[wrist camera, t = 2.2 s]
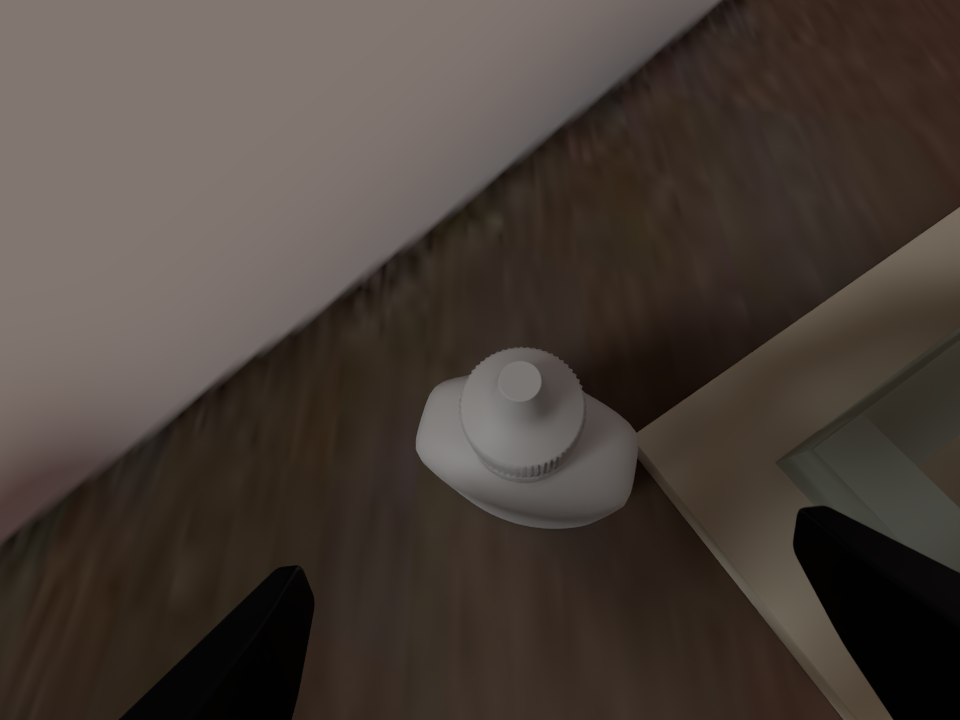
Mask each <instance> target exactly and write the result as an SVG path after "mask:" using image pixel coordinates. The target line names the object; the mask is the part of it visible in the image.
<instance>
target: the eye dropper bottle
mask: <svg viewBox="0 0 960 720" xmlns="http://www.w3.org/2000/svg"><path fill="white" fill-rule="evenodd" d="M572 371H573V369H570V368H568V365H567V364H564V361H563V360H559V358H558V357H554V356H553V354H548V352H547V351H542V350H541V349H538V350H536V349H535V348H531V349H530V348H529V347H526V348H523V347H522V346H521V347H520V348H517V347H514V348H513V349H511V348H508V349H507V350H502V351H501V352H496V353H495V354H491V355H490V357H488V358H485V361H481V362H480V365H477V366H476V369H474V370H472V374H470V375H467V376H463V377H458V378H454V379H450V380H447V381H444V382H443V383H441V384H439V385H437V386H436V387H435V388H434V390H433V391H432V392H431V394H430V395H429V398H428V400H427V403H426V406H425V409H424V412H423V415H422V418H421V421H420V425H419V429H418V433H417V437H416V450H417V453H418V454H419V456H420V458H421V460H422V462H423V463H424V464H425V465H426V466H427V467H428V468H429V469H430V470H431V471H433V472H434V473H435V474H436V475H437V476H438V477H439V478H441V479H442V480H443V481H444V482H446V483H447V484H448V485H450V486H451V487H452V488H453V489H455V490H456V491H457V492H459V493H460V494H461V495H463V496H464V497H465V498H467V499H468V500H469V501H471V502H472V503H474V504H475V505H477V506H478V507H480V508H481V509H483V510H485V511H487V512H489V513H491V514H493V515H495V516H497V517H499V518H502V519H505V520H507V521H510V522H513V523H517V524H521V525H525V526H530V527H537V528H548V529H563V528H574V527H580V526H584V525H588V524H591V523H593V522H595V521H598V520H600V519H602V518H604V517H606V516H609V515H610V514H612V513H614V512H615V511H617V510H618V509H620V508H622V507H623V506H624V505H625V503H626V501H627V499H628V498H629V496H630V494H631V490H632V486H633V481H634V476H635V470H636V463H637V456H638V439H637V433H636V432H635V430H634V429H633V428H632V426H631V425H630V424H629V423H628V422H627V421H626V420H625V419H624V418H623V417H621V416H620V415H619V414H618V413H616V412H615V411H613V410H612V409H611V408H609V407H608V406H606V405H605V404H603V403H601V402H600V401H598V400H597V399H595V398H593V397H591V396H589V395H588V394H586V393H585V392H584V391H583V390H582V387H583V386H582V385H580V384H579V382H580V380H579V379H577V378H576V376H577V375H576V374H574V373H572Z"/></svg>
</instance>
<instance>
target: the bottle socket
mask: <svg viewBox="0 0 960 720" xmlns="http://www.w3.org/2000/svg"><path fill="white" fill-rule="evenodd" d="M637 439H638V456H637V458H638V460H639V461H640V462H641V463H642V465H643V466H644V467H645V469H646V470H647V471H648V472H649V474H650V475H651V476H652V477H653V479H654V480H655V481H656V482H657V484H658V485H659V486H660V488H661V489H662V490H663V491H664V493H665V494H666V495H667V496H668V498H669V499H670V500H671V501H672V503H673V504H674V505H675V507H676V508H677V509H678V510H679V512H680V513H681V514H682V515H683V517H684V518H685V519H686V520H687V522H688V523H689V524H690V526H691V527H692V528H693V529H694V531H695V532H696V533H697V534H698V536H699V537H700V538H701V540H702V541H703V542H704V543H705V545H706V546H707V547H708V548H709V550H710V551H711V552H712V553H713V555H714V556H715V557H716V559H717V560H718V561H719V562H720V564H721V565H722V566H723V567H724V569H725V570H726V571H727V572H728V574H729V575H730V576H731V578H732V579H733V580H734V581H735V583H736V584H737V585H738V586H739V588H740V589H741V590H742V591H743V593H744V594H745V595H746V597H747V598H748V599H749V600H750V602H751V603H752V604H753V605H754V607H755V608H756V609H757V610H758V612H759V613H760V614H761V616H762V617H763V618H764V619H765V621H766V622H767V623H768V624H769V626H770V627H771V628H772V630H773V631H774V632H775V633H776V635H777V636H778V637H779V638H780V640H781V641H782V642H783V643H784V645H785V646H786V647H787V649H788V650H789V651H790V652H791V654H792V655H793V656H794V657H795V659H796V660H797V661H798V662H799V664H800V665H801V666H802V668H803V669H804V670H805V671H806V673H807V674H808V675H809V676H810V678H811V679H812V680H813V681H814V683H815V684H816V685H817V687H818V688H819V689H820V690H821V692H822V693H823V694H824V695H825V697H826V698H827V699H828V700H829V702H830V703H831V704H832V706H833V707H834V708H835V709H836V711H837V712H838V713H839V714H840V716H841V717H842V718H843V720H893V719H892V717H891V716H890V714H889V713H888V711H887V710H886V708H885V707H884V705H883V704H882V702H881V701H880V699H879V698H878V696H877V695H876V693H875V692H874V690H873V689H872V687H871V686H870V684H869V683H868V681H867V680H866V678H865V677H864V675H863V674H862V672H861V671H860V669H859V668H858V666H857V665H856V663H855V661H854V660H853V658H852V657H851V655H850V654H849V652H848V651H847V649H846V647H845V646H844V644H843V643H842V641H841V639H840V637H839V636H838V634H837V632H836V630H835V628H834V627H833V625H832V623H831V621H830V619H829V617H828V615H827V614H826V612H825V610H824V608H823V606H822V604H821V602H820V601H819V599H818V597H817V595H816V593H815V591H814V589H813V587H812V586H811V584H810V582H809V580H808V578H807V576H806V574H805V573H804V571H803V569H802V567H801V565H800V563H799V561H798V559H797V557H796V555H795V553H794V549H793V537H794V530H795V523H796V517H797V512H798V511H799V509H800V508H803V507H810V506H819V505H823V506H828V507H830V508H832V509H834V510H836V511H838V512H840V513H842V514H844V515H846V516H848V517H850V518H852V519H854V520H856V521H858V522H860V523H862V524H864V525H866V526H868V527H870V528H872V529H874V530H876V531H878V532H880V533H882V534H884V535H886V536H888V537H890V538H892V539H894V540H896V541H898V542H900V543H902V544H904V545H906V546H908V547H910V548H912V549H914V550H916V551H918V552H920V553H922V554H924V555H925V556H927V557H929V558H931V559H933V560H935V561H937V562H939V563H941V564H943V565H945V566H947V567H949V568H951V569H953V570H955V571H957V572H959V573H960V207H959V208H958V209H956V210H955V211H954V212H952V213H951V214H949V215H948V216H946V217H945V218H944V219H942V220H941V221H939V222H938V223H936V224H935V225H934V226H932V227H931V228H929V229H928V230H926V231H925V232H924V233H922V234H921V235H919V236H918V237H916V238H915V239H914V240H912V241H911V242H909V243H908V244H906V245H905V246H904V247H902V248H901V249H899V250H898V251H896V252H895V253H893V254H892V255H891V256H889V257H888V258H886V259H885V260H883V261H882V262H881V263H879V264H878V265H876V266H875V267H873V268H872V269H871V270H869V271H868V272H866V273H865V274H863V275H862V276H861V277H859V278H858V279H856V280H855V281H853V282H852V283H851V284H849V285H848V286H846V287H845V288H843V289H842V290H841V291H839V292H838V293H836V294H835V295H833V296H832V297H830V298H829V299H828V300H826V301H825V302H823V303H822V304H820V305H819V306H818V307H816V308H815V309H813V310H812V311H810V312H809V313H808V314H806V315H805V316H803V317H802V318H800V319H799V320H798V321H796V322H795V323H793V324H792V325H790V326H789V327H788V328H786V329H785V330H783V331H782V332H780V333H779V334H778V335H776V336H775V337H773V338H772V339H770V340H769V341H767V342H766V343H765V344H763V345H762V346H760V347H759V348H757V349H756V350H755V351H753V352H752V353H750V354H749V355H747V356H746V357H745V358H743V359H742V360H740V361H739V362H737V363H736V364H735V365H733V366H732V367H730V368H729V369H727V370H726V371H725V372H723V373H722V374H720V375H719V376H717V377H716V378H715V379H713V380H712V381H710V382H709V383H707V384H706V385H705V386H703V387H702V388H700V389H699V390H697V391H696V392H694V393H693V394H692V395H690V396H689V397H687V398H686V399H684V400H683V401H682V402H680V403H679V404H677V405H676V406H674V407H673V408H672V409H670V410H669V411H667V412H666V413H664V414H663V415H662V416H660V417H659V418H657V419H656V420H654V421H653V422H652V423H650V424H649V425H647V426H646V427H644V428H643V429H642V430H640V431H639V432H637Z"/></svg>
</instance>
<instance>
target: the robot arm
mask: <svg viewBox="0 0 960 720" xmlns="http://www.w3.org/2000/svg"><path fill="white" fill-rule="evenodd" d="M793 549H794V553H795V555H796V557H797V559H798V561H799V563H800V565H801V567H802V569H803V571H804V573H805V574H806V576H807V578H808V580H809V582H810V584H811V586H812V587H813V589H814V591H815V593H816V595H817V597H818V599H819V601H820V602H821V604H822V606H823V608H824V610H825V612H826V614H827V615H828V617H829V619H830V621H831V623H832V625H833V627H834V628H835V630H836V632H837V634H838V636H839V637H840V639H841V641H842V643H843V644H844V646H845V647H846V649H847V651H848V652H849V654H850V655H851V657H852V658H853V660H854V661H855V663H856V665H857V666H858V668H859V669H860V671H861V672H862V674H863V675H864V677H865V678H866V680H867V681H868V683H869V684H870V686H871V687H872V689H873V690H874V692H875V693H876V695H877V696H878V698H879V699H880V701H881V702H882V704H883V705H884V707H885V708H886V710H887V711H888V713H889V714H890V716H891V717H892V719H893V720H960V573H959V572H957V571H955V570H953V569H951V568H949V567H947V566H945V565H943V564H941V563H939V562H937V561H935V560H933V559H931V558H929V557H927V556H925V555H924V554H922V553H920V552H918V551H916V550H914V549H912V548H910V547H908V546H906V545H904V544H902V543H900V542H898V541H896V540H894V539H892V538H890V537H888V536H886V535H884V534H882V533H880V532H878V531H876V530H874V529H872V528H870V527H868V526H866V525H864V524H862V523H860V522H858V521H856V520H854V519H852V518H850V517H848V516H846V515H844V514H842V513H840V512H838V511H836V510H834V509H832V508H830V507H828V506H823V505H819V506H810V507H803V508H800V509H799V511H798V512H797V517H796V523H795V530H794V537H793ZM313 613H314V596H313V593H312V590H311V588H310V585H309V583H308V580H307V578H306V575H305V573H304V571H303V569H302V568H301V567H300V566H297V565H294V566H286V567H280V568H277V569H276V570H274V571H273V572H272V573H271V574H270V575H269V576H268V577H267V578H266V579H265V580H264V581H263V582H262V583H261V584H260V585H259V586H258V587H257V588H256V589H254V590H253V591H252V592H251V593H250V594H249V595H248V596H247V597H246V598H245V599H244V600H243V601H242V602H241V603H240V604H239V605H238V606H237V607H236V608H235V609H234V610H233V611H232V612H230V613H229V614H228V615H227V616H226V617H225V618H224V619H223V620H222V621H221V622H220V623H219V624H218V625H217V626H216V627H215V628H214V629H213V630H212V631H211V632H210V633H209V634H208V635H206V636H205V637H204V638H203V639H202V640H201V641H200V642H199V643H198V644H197V645H196V646H195V647H194V648H193V649H192V650H191V651H190V652H189V653H188V654H187V655H186V656H185V657H184V658H182V659H181V660H180V661H179V662H178V663H177V664H176V665H175V666H174V667H173V668H172V669H171V670H170V671H169V672H168V673H167V674H166V675H165V676H164V677H163V678H162V679H161V680H160V681H158V682H157V683H156V684H155V685H154V686H153V687H152V688H151V689H150V690H149V691H148V692H147V693H146V694H145V695H144V696H143V697H142V698H141V699H140V700H139V701H138V702H137V703H136V704H134V705H133V706H132V707H131V708H130V709H129V710H128V711H127V712H126V713H125V714H124V715H123V716H122V717H121V718H120V719H119V720H292V716H293V713H294V709H295V705H296V701H297V697H298V693H299V688H300V683H301V678H302V672H303V667H304V662H305V656H306V651H307V645H308V640H309V635H310V629H311V624H312V618H313Z"/></svg>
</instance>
